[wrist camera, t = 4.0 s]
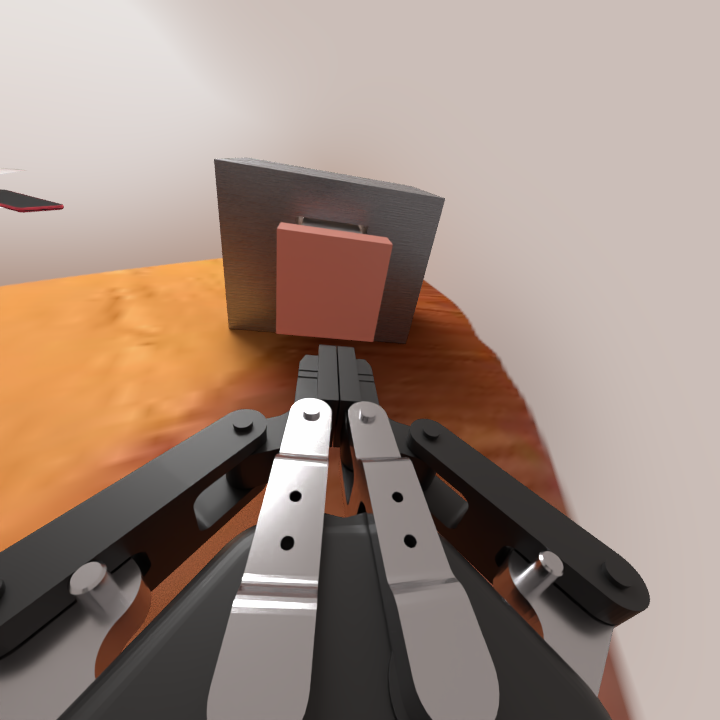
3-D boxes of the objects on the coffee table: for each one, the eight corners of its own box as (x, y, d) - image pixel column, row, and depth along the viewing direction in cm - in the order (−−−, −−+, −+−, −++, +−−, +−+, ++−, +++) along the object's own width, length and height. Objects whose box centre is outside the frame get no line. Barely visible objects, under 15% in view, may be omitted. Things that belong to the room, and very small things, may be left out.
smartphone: (18, 208, 51) (-49, 190, 53) (20, 214, 51) (-46, 196, 54) (65, 205, 57) (4, 189, 59) (67, 210, 57) (6, 194, 60)
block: (228, 328, 30) (214, 159, 22) (252, 285, 40) (248, 157, 32) (405, 343, 33) (445, 198, 25) (387, 299, 43) (411, 186, 35)
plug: (276, 333, 22) (276, 228, 18) (293, 270, 33) (295, 199, 30) (373, 341, 23) (392, 244, 19) (356, 278, 35) (366, 210, 31)
